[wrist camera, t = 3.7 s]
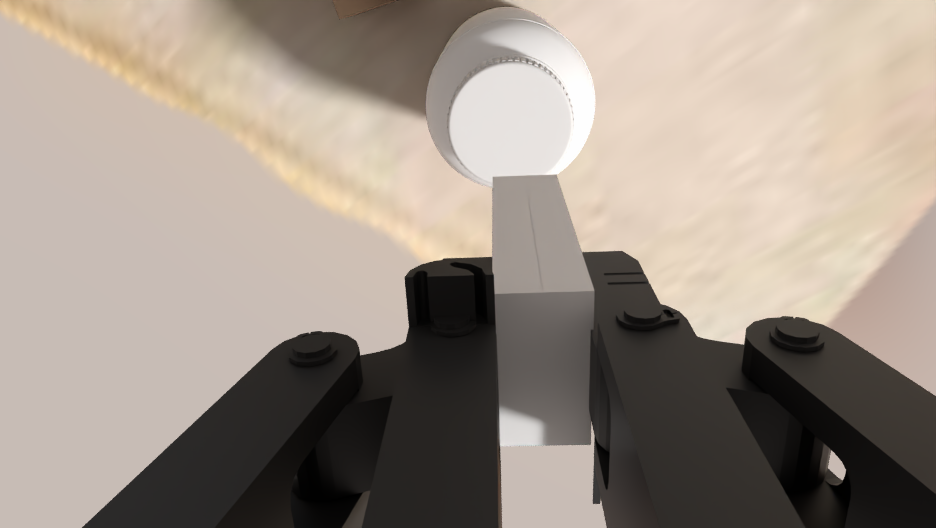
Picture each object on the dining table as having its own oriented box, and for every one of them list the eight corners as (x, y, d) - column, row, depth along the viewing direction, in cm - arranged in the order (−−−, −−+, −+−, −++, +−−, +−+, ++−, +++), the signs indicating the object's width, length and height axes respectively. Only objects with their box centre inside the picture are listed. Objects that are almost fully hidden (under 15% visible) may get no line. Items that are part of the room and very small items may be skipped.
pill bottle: (457, 153, 44) (441, 233, 30) (426, 24, 41) (392, 47, 27) (580, 125, 43) (622, 195, 29) (557, -9, 40) (592, -3, 26)
